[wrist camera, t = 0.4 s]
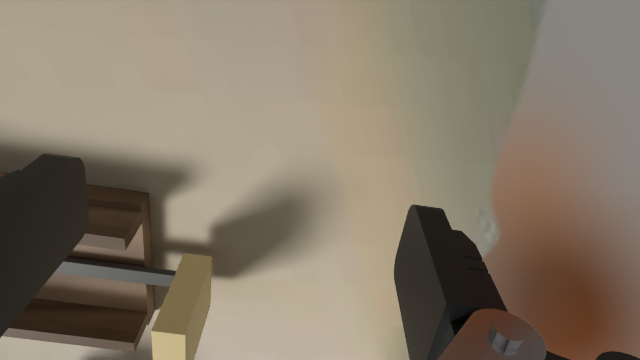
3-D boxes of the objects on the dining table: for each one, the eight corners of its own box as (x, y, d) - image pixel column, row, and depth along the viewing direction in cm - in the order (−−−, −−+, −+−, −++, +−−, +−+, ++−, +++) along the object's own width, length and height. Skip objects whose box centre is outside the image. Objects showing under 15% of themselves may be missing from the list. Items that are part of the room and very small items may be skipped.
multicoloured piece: (-167, 187, 31) (-288, 258, 25) (213, 238, 33) (185, 317, 27) (-126, 274, 36) (-221, 353, 30) (210, 316, 37) (185, 400, 31)
